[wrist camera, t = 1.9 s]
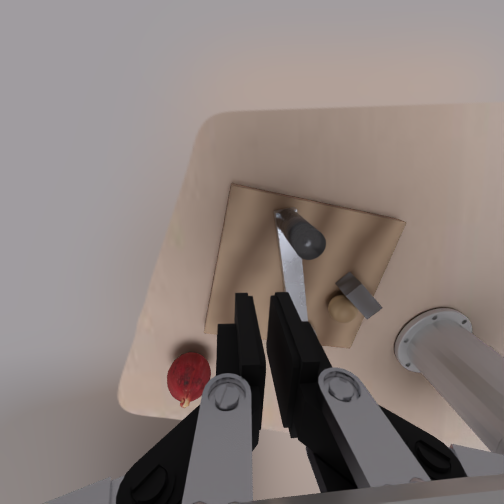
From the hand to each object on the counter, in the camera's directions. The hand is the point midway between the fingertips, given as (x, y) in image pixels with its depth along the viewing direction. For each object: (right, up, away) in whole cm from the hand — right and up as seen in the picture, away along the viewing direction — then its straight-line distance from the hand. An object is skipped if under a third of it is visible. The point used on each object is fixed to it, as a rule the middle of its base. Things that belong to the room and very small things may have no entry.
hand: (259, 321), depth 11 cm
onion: (-9, -12, +27) cm, 31 cm away
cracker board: (+6, 0, +24) cm, 24 cm away
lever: (+5, -1, +21) cm, 22 cm away
